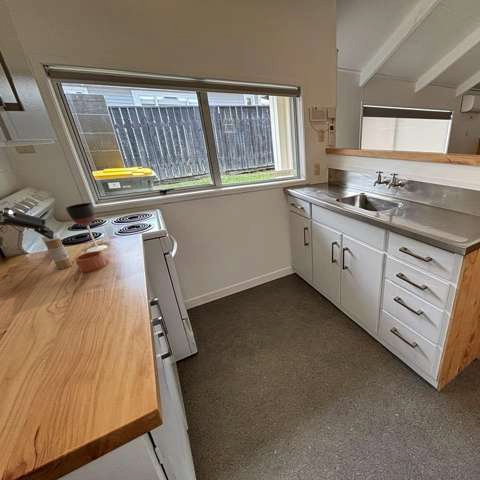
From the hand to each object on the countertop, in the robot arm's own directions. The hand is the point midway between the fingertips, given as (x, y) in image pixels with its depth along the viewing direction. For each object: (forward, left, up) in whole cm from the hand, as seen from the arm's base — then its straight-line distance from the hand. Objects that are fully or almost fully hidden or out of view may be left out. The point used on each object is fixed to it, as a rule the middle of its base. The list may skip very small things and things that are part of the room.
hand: (27, 238), depth 85 cm
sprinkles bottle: (-9, +4, -16) cm, 19 cm away
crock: (+1, +12, -16) cm, 20 cm away
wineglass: (-22, +15, -16) cm, 31 cm away
